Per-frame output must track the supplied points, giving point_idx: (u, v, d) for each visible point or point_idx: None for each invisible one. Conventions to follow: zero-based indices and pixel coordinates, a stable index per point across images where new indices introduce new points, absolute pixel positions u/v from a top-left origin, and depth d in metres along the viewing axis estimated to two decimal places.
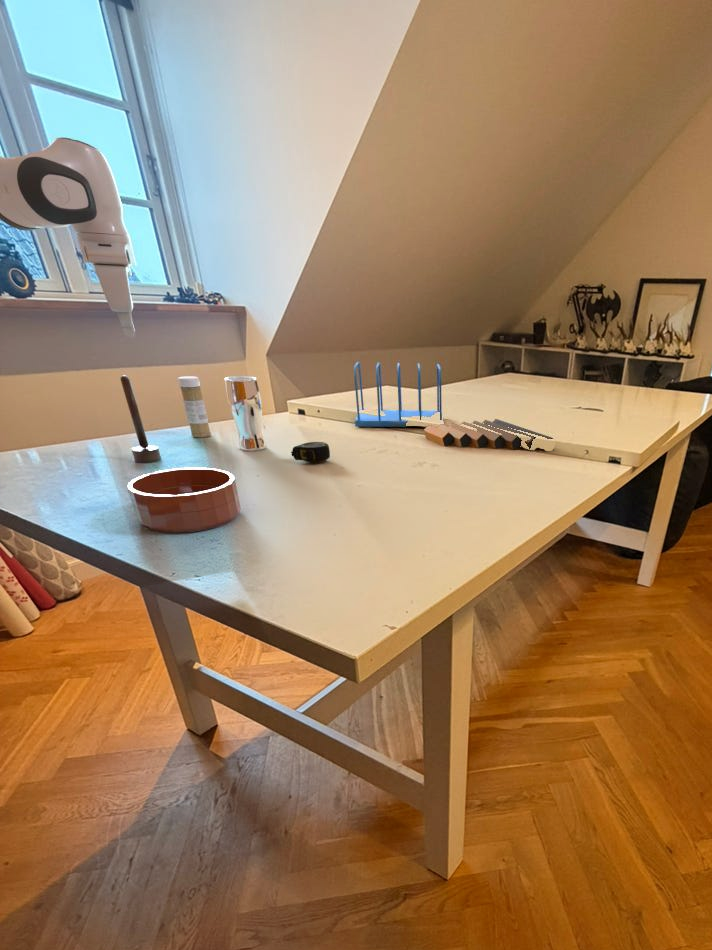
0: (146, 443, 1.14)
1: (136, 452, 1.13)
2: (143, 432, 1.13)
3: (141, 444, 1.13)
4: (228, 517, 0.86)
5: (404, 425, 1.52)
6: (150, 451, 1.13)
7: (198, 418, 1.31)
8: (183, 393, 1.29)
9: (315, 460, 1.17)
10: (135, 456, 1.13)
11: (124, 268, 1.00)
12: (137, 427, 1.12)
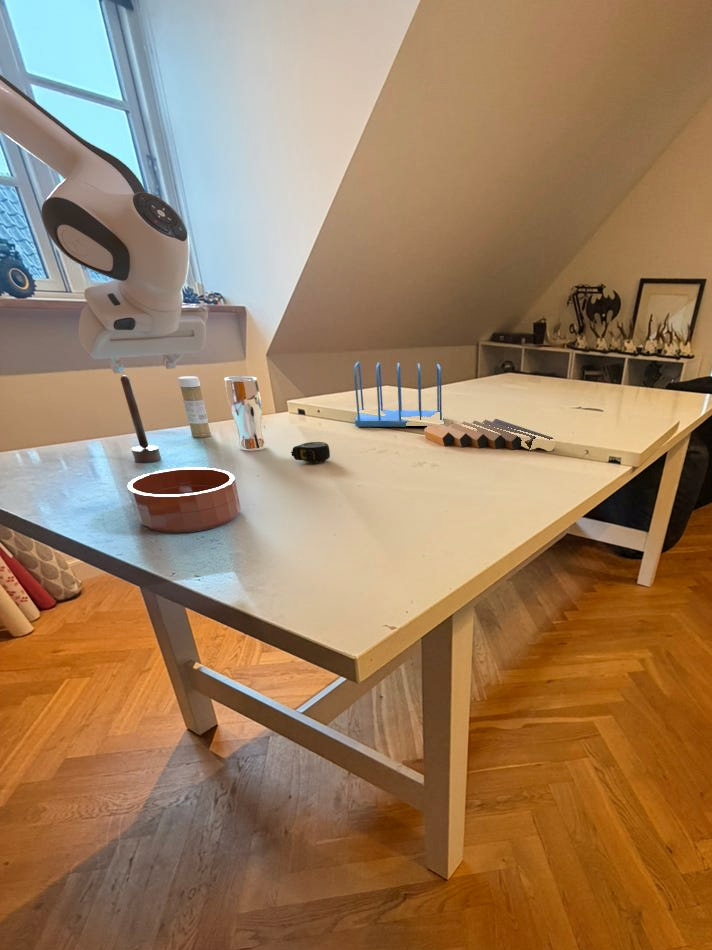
0: (146, 443, 1.14)
1: (136, 452, 1.13)
2: (143, 432, 1.13)
3: (141, 444, 1.13)
4: (228, 517, 0.86)
5: (404, 425, 1.52)
6: (150, 451, 1.13)
7: (198, 418, 1.31)
8: (183, 393, 1.29)
9: (315, 460, 1.17)
10: (135, 456, 1.13)
11: (102, 329, 0.86)
12: (137, 427, 1.12)
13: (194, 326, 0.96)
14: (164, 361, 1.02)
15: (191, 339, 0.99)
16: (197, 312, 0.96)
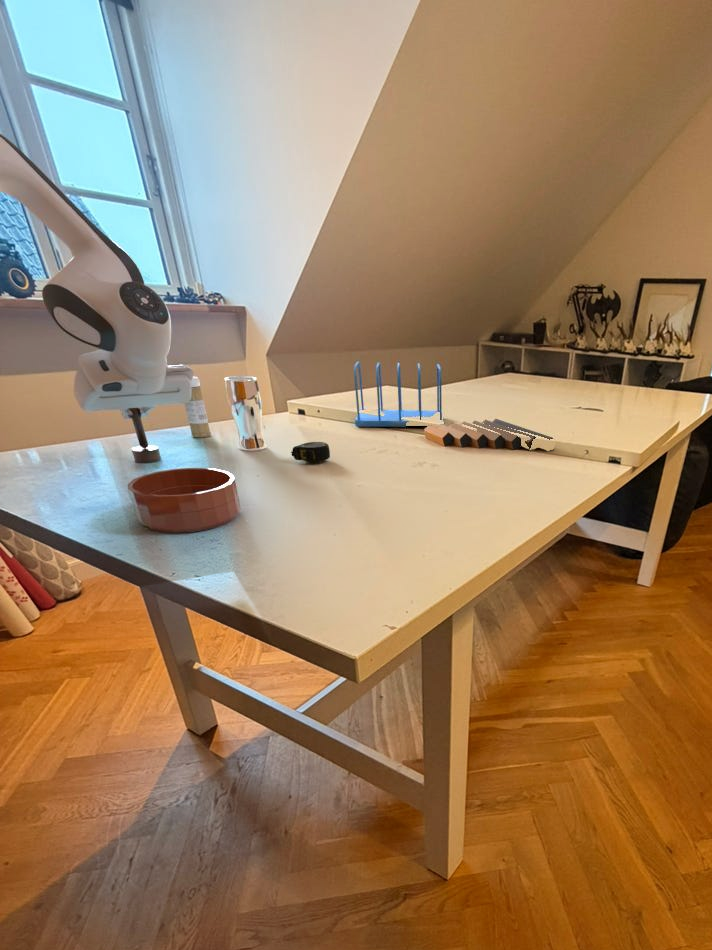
0: (146, 443, 1.14)
1: (136, 452, 1.13)
2: (143, 432, 1.13)
3: (141, 444, 1.13)
4: (228, 517, 0.86)
5: (404, 425, 1.52)
6: (150, 451, 1.13)
7: (198, 418, 1.31)
8: None
9: (315, 460, 1.17)
10: (135, 456, 1.13)
11: (92, 390, 0.97)
12: (137, 427, 1.12)
13: (180, 383, 1.07)
14: None
15: (177, 394, 1.10)
16: (183, 372, 1.07)
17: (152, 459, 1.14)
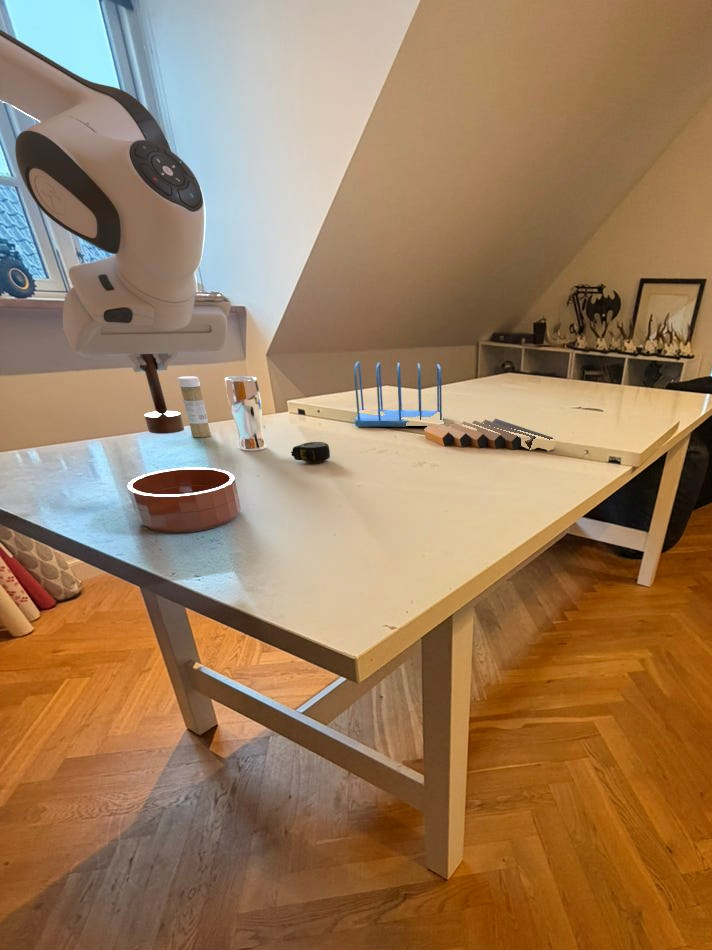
0: (164, 407, 0.83)
1: (151, 419, 0.82)
2: (160, 391, 0.82)
3: (158, 408, 0.83)
4: (228, 517, 0.86)
5: (404, 425, 1.52)
6: (170, 417, 0.83)
7: (198, 418, 1.31)
8: (183, 393, 1.29)
9: (315, 460, 1.17)
10: (149, 424, 0.83)
11: (89, 320, 0.66)
12: (152, 384, 0.81)
13: (212, 319, 0.76)
14: None
15: (208, 335, 0.79)
16: (217, 302, 0.76)
17: (173, 429, 0.83)
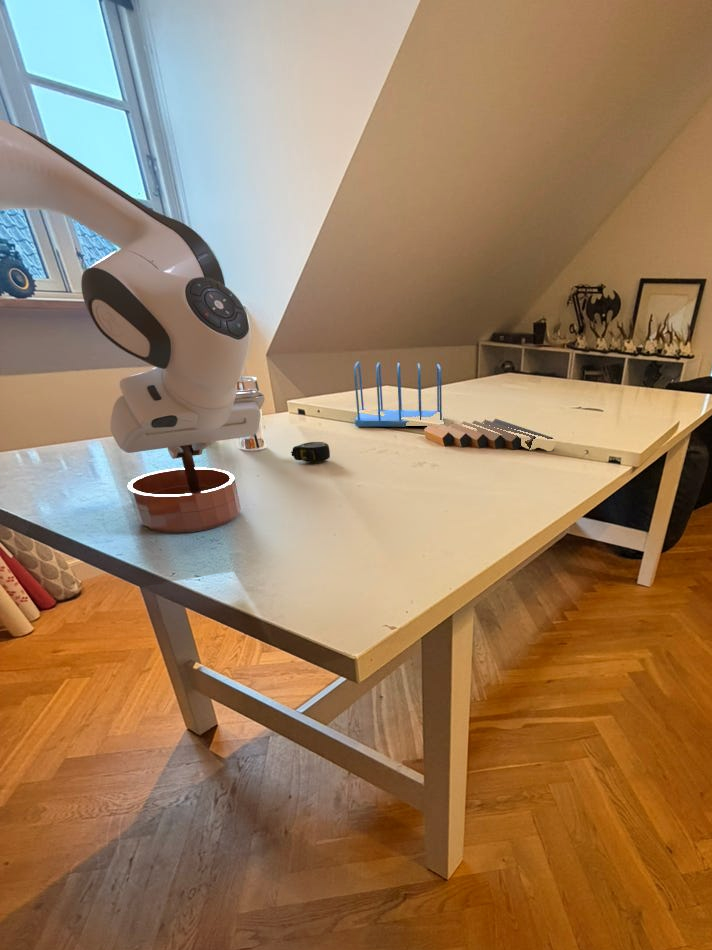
0: (198, 488, 0.88)
1: None
2: (195, 474, 0.86)
3: (192, 489, 0.87)
4: (228, 517, 0.86)
5: (404, 425, 1.52)
6: None
7: None
8: None
9: (315, 460, 1.17)
10: None
11: (137, 426, 0.71)
12: (187, 468, 0.85)
13: (247, 413, 0.81)
14: None
15: (242, 426, 0.83)
16: (252, 398, 0.81)
17: None
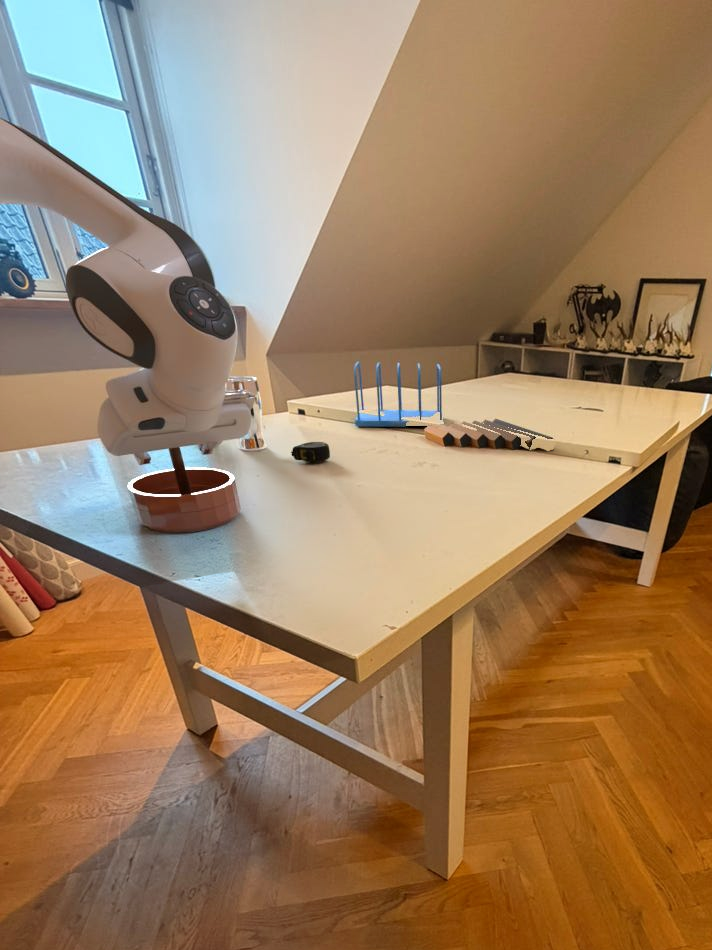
0: (189, 492, 0.86)
1: None
2: (186, 478, 0.85)
3: (183, 493, 0.86)
4: (228, 517, 0.86)
5: (404, 425, 1.52)
6: None
7: None
8: None
9: (315, 460, 1.17)
10: None
11: (124, 429, 0.70)
12: (178, 472, 0.84)
13: (237, 415, 0.80)
14: (199, 446, 0.86)
15: (232, 427, 0.82)
16: (242, 399, 0.79)
17: None
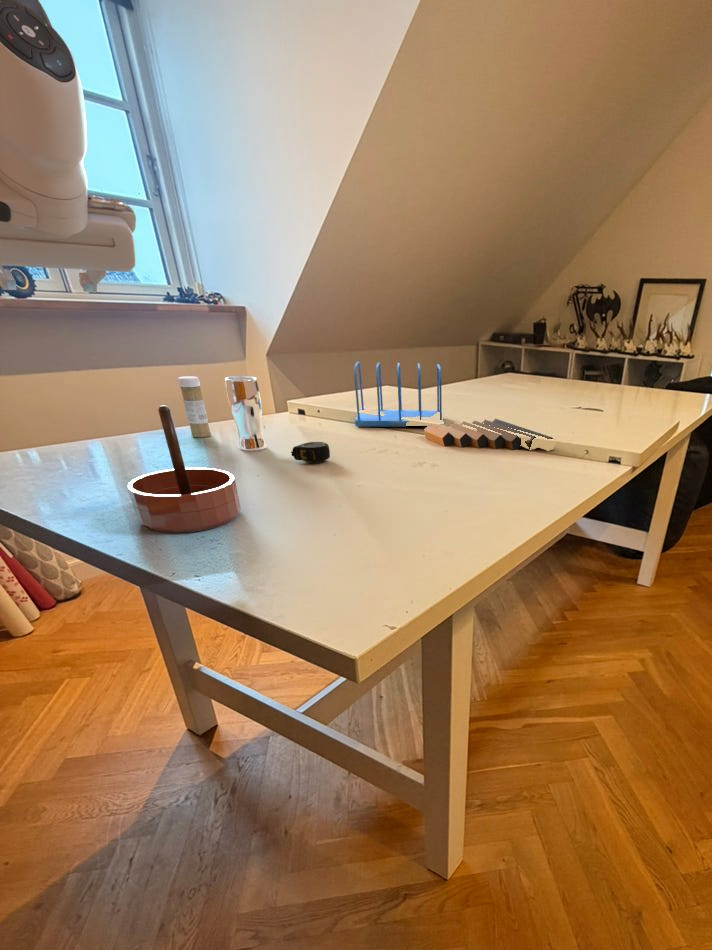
0: (189, 492, 0.86)
1: None
2: (186, 478, 0.85)
3: (183, 493, 0.86)
4: (228, 517, 0.86)
5: (404, 425, 1.52)
6: None
7: (198, 418, 1.31)
8: (183, 393, 1.29)
9: (315, 460, 1.17)
10: None
11: None
12: (178, 472, 0.84)
13: (114, 231, 0.70)
14: (81, 281, 0.76)
15: (112, 251, 0.72)
16: (118, 212, 0.70)
17: None
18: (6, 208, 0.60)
